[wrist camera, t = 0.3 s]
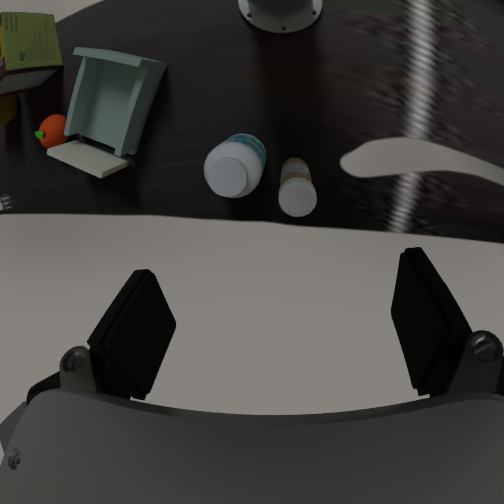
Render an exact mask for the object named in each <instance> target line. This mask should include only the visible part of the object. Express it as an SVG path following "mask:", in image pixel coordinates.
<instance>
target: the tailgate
mask: <svg viewBox="0 0 504 504" xmlns="http://www.w3.org/2000/svg"><path fill="white" fill-rule="evenodd" d="M47 155H50V156H52V157H54V158H56V159H59V160H61V161H63V162H65V163H68V164H70V165H72V166H74V167H77V168H79V169H81V170H83V171H86V172H88V173H90V174H92V175H95V176H97V177H99V178H103V177H105V176H107V175H109V174H111V173H114V172H116V171H118V170H120V169H122V168H124V167H126V165H127V166H129V165H130V163H131V162H130V161H128V160H126V159H123V158H121V157H118V156H116V155H113V154H111V153H108V152H106V151H103V150H101V149H98V148H96V147H93V146H91V145H88V144H86V143H83V142H81V141H78V140H76V141H72V142H68V143H65V144H62V145H58V146H55V147H52V148H49V149H48V150H47Z"/></svg>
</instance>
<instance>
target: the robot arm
mask: <svg viewBox="0 0 504 504" xmlns="http://www.w3.org/2000/svg"><path fill="white" fill-rule="evenodd" d="M322 4H323V1H322V0H238V6H239V9H240V11H241V13H242V15H243V16H244V18H245V19H246V20H247V21H248V22H249V23H251V24H252V25H253V26H255V27H257V28H259V29H261V30H264V31H267V32H271V33H278V34H287V33H294V32H297V31H300V30H303V29H305V28H307V27H309V26H310V25H311V24H313V23H314V22H315V20H316V19H317V18H318V16H319V15H320V13H321V10H322ZM312 13H315V14H316V15H313V14H312ZM249 16H252V17H250V18H249ZM282 28H285V30H282ZM391 316H392V320H393V322H394V326H395V329H396V331H397V335H398V338H399V341H400V344H401V347H402V351H403V354H404V358H405V361H406V364H407V368H408V372H409V376H410V379H411V384H412V387H413V388H414V389H417V391H418V395H419V396H422V395H426V394H429V395H430V398H426V399H421V400H416V401H411V402H406V403H401V404H395V405H389V406H383V407H376V408H370V409H362V410H355V411H346V412H335V413H323V414H305V415H244V414H226V413H213V412H203V411H194V410H186V409H178V408H172V407H165V406H159V405H153V404H148V403H142V402H137V401H133V400H130V398H131V396H132V397H133V398H135V399H139V400H145V397H146V395H147V394H148V393H150V391H151V389H152V386H153V384H154V381H155V378H156V376H157V373H158V371H159V368H160V366H161V363H162V360H163V358H164V356H165V353H166V351H167V348H168V346H169V343H170V341H171V338H172V336H173V334H174V331H175V328H176V321H175V319H174V317H173V314H172V312H171V310H170V309H169V306H168V304H167V302H166V299H165V297H164V295H163V292H162V290H161V288H160V286H159V283H158V281H157V279H156V276H155V274H154V273H151V271H150V270H148V269H143V270H135V271H134V272H133V274H132V275H131V276H130V278H129V279H128V280H127V282H126V283H125V285H124V286H123V287H122V289H121V291H120V292H119V293H118V295H117V296H116V298H115V299H114V300H113V302H112V304H111V305H110V307H109V308H108V309H107V311H106V312H105V314H104V316H103V317H102V318H101V320H100V321H99V323H98V325H97V326H96V328H95V329H94V331H93V333H92V334H91V336H90V337H89V339H88V340H87V343H88V344H89V346H90V349H89V350H88V349H87V348H86V347H84V346H77V347H73V348H71V349H70V350H68V351H67V352H66V353H65V354H64V356H63V357H62V359H61V361H60V371H59V372H57V373H55V374H53V375H51V376H49V377H48V378H46V379H44V380H42V381H40V382H39V383H37V384H35V385H34V386H32V387H31V388H30V390H29V392H28V395H27V400H26V402H27V403H26V402H25V401H24V402H23V403H22V404H21V405H20V406H19V407H17V409H15V410H14V411H13V412H12V413H11V414H10V415H9V416H8V417H7V418H6V419H5V420H4V421H3V422H2V423H1V425H0V442H1V445H2V448H3V451H4V453H5V454H4V457H3V460H2V462H1V466H0V504H504V356H503V352H504V351H503V346H502V343H501V342H500V340H499V339H498V338H497V337H496V336H495V335H494V334H492V333H491V332H489V331H485V330H478V331H476V332H472V330H471V328H470V326H469V324H468V322H467V320H466V318H465V317H464V315H463V313H462V311H461V309H460V307H459V306H458V304H457V302H456V300H455V299H454V297H453V295H452V294H451V292H450V290H449V289H448V287H447V285H446V284H445V282H444V281H443V280H442V278H441V277H440V275H439V274H438V272H437V271H436V269H435V267H434V266H433V264H432V263H431V261H430V260H429V259H428V257H427V255H426V254H425V253H424V251H423V250H422V248H420V247H415V248H406V249H405V251H404V253H401V254H400V260H399V267H398V273H397V279H396V285H395V291H394V296H393V301H392V306H391Z"/></svg>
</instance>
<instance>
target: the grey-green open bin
mask: <svg viewBox="0 0 504 504" xmlns="http://www.w3.org/2000/svg"><path fill="white" fill-rule="evenodd" d="M73 54H75V55H81V56H84V57H83V60H82V63H81V67H80V70H79V73H78V76H77V80H76V83H75V87H74V91H73V94H72V98H71V102H70V107H69V111H68V116H67V121H66V126H65V131H64V135H66V136H70V135H73V134H76V133H79V134H80V135H83V136H85V137H88V138H91V139H93V140H96V141H98V142H101V143H104V144H106V145H109V146H111V147H114V148H116V149H115V153H114V154H115V155H117V156H119V157H120V156H122V155H124V154H127V153H129V154H131V155H134V154H136V152H137V148H138V145H139V141H140V138H141V135H142V132H143V128H144V125H145V122H146V119H147V116H148V113H149V110H150V108H151V105H152V102H153V99H154V96H155V94H156V91H157V88H158V86H159V83H160V81H161V78H162V76H163V73H164V71H165V69H166V66H167V63H163V62H160V61H156V60H152V59H148V58H144V57H139V56H135V55H130V54H126V53H121V52H116V51H110V50H103V49H92V48H78V47H75V50H74V53H73Z"/></svg>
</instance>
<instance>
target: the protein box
mask: <svg viewBox="0 0 504 504" xmlns="http://www.w3.org/2000/svg"><path fill="white" fill-rule="evenodd" d="M62 66H63V61H62V56H61V52H60V47H59V42H58V37H57V31H56V26H55V19H54V15H52V14H42V13H27V12H1V14H0V98H1V97H5V96H9V95H13V94H17V93H22V92H26V91H31V90H36V89H37V88H38V87H39V86H40V85H41V84H42V83H43V82H45V81H46V80H47V79H48V78H49V77H50V76H51V75H52V74H54V73H55V72H56V71H57V70H58V69H59V68H61V67H62Z"/></svg>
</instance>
